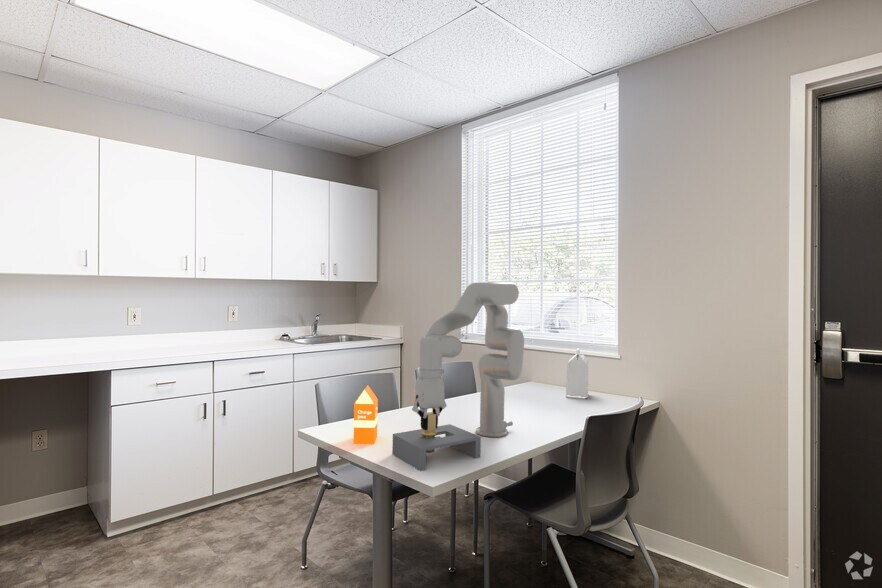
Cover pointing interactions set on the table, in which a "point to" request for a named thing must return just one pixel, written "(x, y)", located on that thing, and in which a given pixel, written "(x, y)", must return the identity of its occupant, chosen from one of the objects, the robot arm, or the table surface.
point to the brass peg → (430, 428)
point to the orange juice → (365, 418)
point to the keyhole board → (433, 444)
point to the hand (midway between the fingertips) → (429, 427)
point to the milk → (577, 376)
